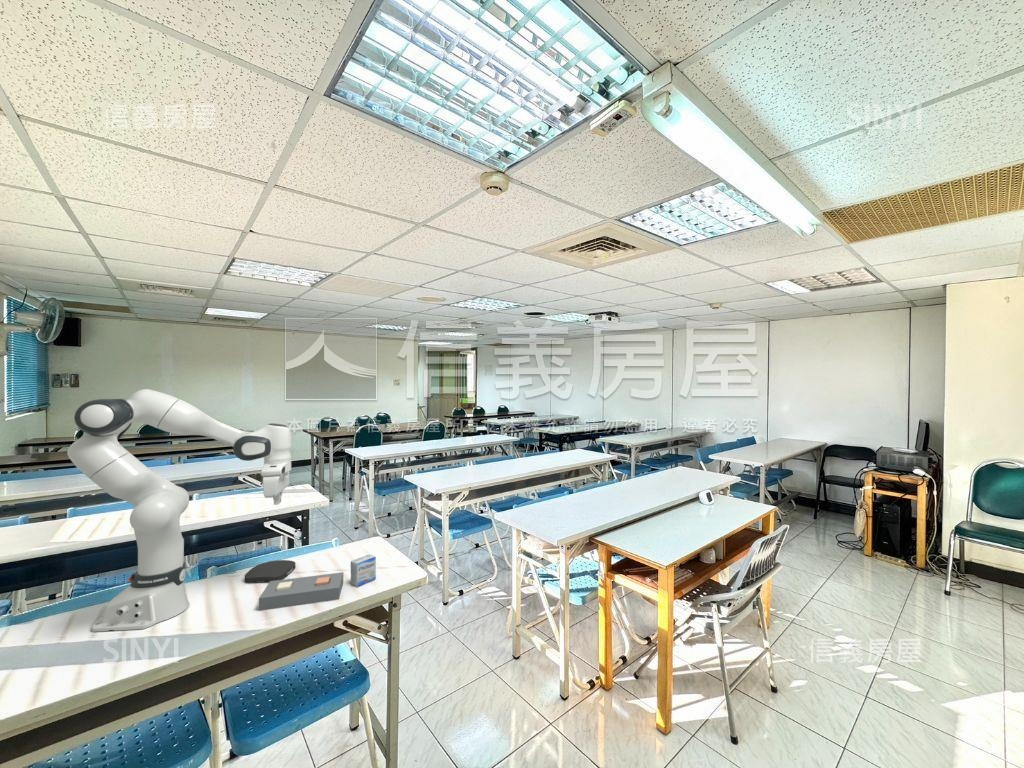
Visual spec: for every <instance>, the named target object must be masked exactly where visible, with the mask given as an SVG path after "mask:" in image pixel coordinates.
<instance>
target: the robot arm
mask: <svg viewBox="0 0 1024 768" xmlns="http://www.w3.org/2000/svg"><path fill="white" fill-rule="evenodd" d="M73 420H74V423H75V425H76V426H77V428H78V429H79V430H81V431H82V432H83V434H82V436H80V438H77V439H76V440H75V441H73V443H72V444H70V446H69V447H68V449H67V452H66V453H67V454H66V455H67V457H68V458H69V459H70V461H71V462H72V463H73V465H74V466H75V467H76V468H77V469H78V470H79V471H80V472H81V473H82V474H83V475H84V476H86V477H87V478H88V479H89V480H91V481H92V482H93V483H95V484H96V485H97V486H98V487H99V488H101V489H102V490H103V491H104V492H106V493H107V495H109V496H111V497H113V498H115V499H119V500H122V501H124V502H127V503H129V504H130V505H132V506H134V507H133V509H132V511H131V513H130V516H129V523H130V526H131V528H132V529H133V532H134V537H135V540H136V545H137V570H136V571H135V572H134V573H132V574H131V576H129V577H128V578H127V579H126V581H127V583H130V584H129V585H128V586H127V587H126V588H124V589H123V590H122V591H120V592H119V593H118V594H117V595H115V596H114V597H113V598H112V599H111V600H110V601H109V602H108V603H107V605H106V606H105V607H104V611H103V615H102V616H100V617H99V618H98V619H96V620H95V622H94V623H93V624H92V627H91V632H92V633H93V632H94V633H95V632H109V630H114V631H129V630H131V631H132V630H144V629H147V628H149V627H151V626H154V625H156V624H157V623H160V622H164V621H166V620H169V619H171V618H174V617H175V616H178V615H179V614H181V613H182V612H184V611H185V610H187V609H188V608H189V607H190V602H189V598H188V596H187V592H186V587H185V586H186V585H185V580H186V574H187V573H186V563H185V561H184V557H185V556H184V555H185V552H184V551H185V550H184V549H185V548H184V547H185V539H184V537H183V535H182V534H183V533H182V529H181V524H180V523H181V522H180V519H181V515H183V513H184V512H186V510H187V508H188V506H189V504H190V503H189V502H190V494H189V492H188V491H187V490H186V489H185V488H183V487H182V486H178V485H176V484H175V483H173V482H172V481H170V480H168V479H167V478H165V477H163V476H161V475H160V474H158V473H156V472H154V471H153V470H152V469H150V468H149V467H148V466H146V465H145V464H144V463H143V462H141V461H140V460H139V459H138V458H137V457H136V456H134V455H133V453H131V452H130V451H128V450H127V449H126V448H125V447H123V445H122V444H121V443H120V442H119V441H118V440H119V439H120V438H121V437H122V436H124V434H125V433H126V432H127V431H128V430H129V429H130V427H131V425H132V424H134V423H135V424H136V423H142V424H146V425H149V426H151V427H153V428H156V429H158V430H161V431H164V432H167V433H170V434H175V435H179V436H203V437H207V438H210V439H214V440H216V441H218V442H221V443H223V444H226V445H229V446H231V447H232V450H233V451H232V452H233V454H234V455H235V457H236V458H238V459H239V460H241V461H246V462H248V461H249V462H250V461H251V462H252V461H254V460H259V459H262V458H263V467H262V469H261V471H260V476H261V477H263V478H262V491H263V492H262V493H263V496H264V498H265V499H267V498H272V500H273V505H274V506H277V505H280V504H281V503H282V496H283V494H284V493H283V491H284V490H285V489H286V488H288V487H289V485H290V472H291V471H292V455H291V449H292V432H291V429H290V427H289V426H287V425H285V424H282V423H267V424H266V425H264V426H262V427H260V428H258V429H256V430H244V429H243V430H242V429H239V428H236V427H235V426H231V425H229V424H227V423H223V422H221V421H220V420H216V419H215V418H213V417H212V416H211V415H209V414H206V412H204V411H202V410H201V409H199V408H198V407H196V406H194V404H191V403H189V402H187V401H185V400H183V399H181V398H177V397H175V396H173V395H170V394H168V393H165V392H161V391H157V390H153V389H150V388H143V389H139V390H138V391H136V392H134V393H132V394H131V395H130V396H129V397H128V398H127V399H124V398H99V399H92V400H89V401H87V402H84V403H83V404H81V405H80V406H79V407H78V408H77V409H76V411H75V413H74V416H73Z"/></svg>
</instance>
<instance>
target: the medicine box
mask: <svg viewBox="0 0 1024 768" xmlns="http://www.w3.org/2000/svg"><path fill="white" fill-rule="evenodd" d="M376 559H377V558H376V556H374V555H372V554H370V553H369V554H367V555H364V556H362V557H358V558H356V559H353V560H350V585H352V586H355V587H356V588H360V587H361V586H364V585H366V584H368V583H371V582H373V581H375V580H376V578H377V577H376V576H377V575H376V573H377V560H376Z"/></svg>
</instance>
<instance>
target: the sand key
mask: <svg viewBox="0 0 1024 768" xmlns="http://www.w3.org/2000/svg"><path fill="white" fill-rule="evenodd" d="M292 585H293V581H290V582H282V583H279V585H278V587H277V588H276V591H280V590H287V589H291V587H292Z"/></svg>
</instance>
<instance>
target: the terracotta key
mask: <svg viewBox="0 0 1024 768" xmlns="http://www.w3.org/2000/svg"><path fill="white" fill-rule="evenodd" d="M329 583H330V577H322V578H318V579H317V581H316V586H318V585H326V584H329Z"/></svg>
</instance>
